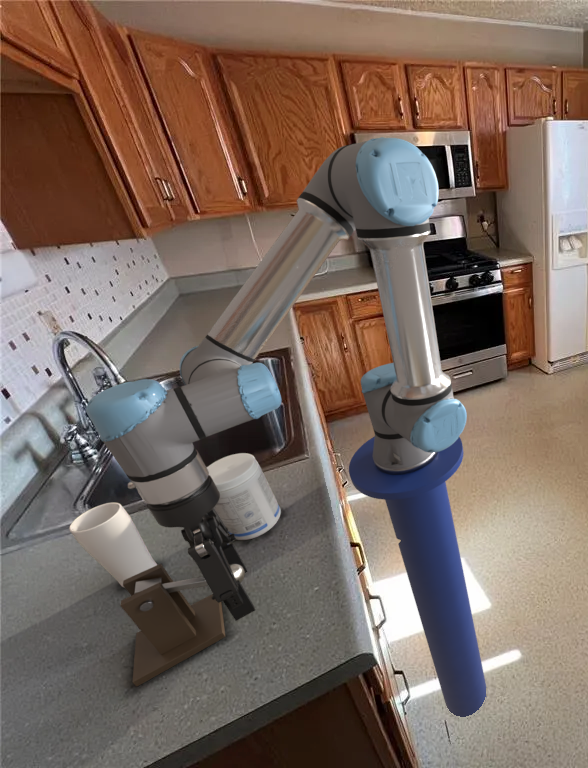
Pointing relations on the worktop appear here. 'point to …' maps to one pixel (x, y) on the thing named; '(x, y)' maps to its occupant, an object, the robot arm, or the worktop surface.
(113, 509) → the white tapered cylinder
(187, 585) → the tap lever
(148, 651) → the bracket
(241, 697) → the worktop surface
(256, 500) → the supplement tub
